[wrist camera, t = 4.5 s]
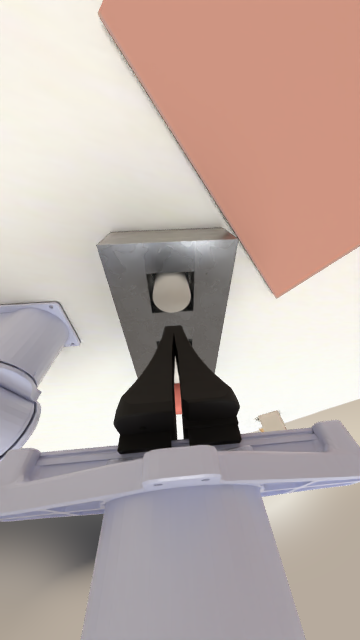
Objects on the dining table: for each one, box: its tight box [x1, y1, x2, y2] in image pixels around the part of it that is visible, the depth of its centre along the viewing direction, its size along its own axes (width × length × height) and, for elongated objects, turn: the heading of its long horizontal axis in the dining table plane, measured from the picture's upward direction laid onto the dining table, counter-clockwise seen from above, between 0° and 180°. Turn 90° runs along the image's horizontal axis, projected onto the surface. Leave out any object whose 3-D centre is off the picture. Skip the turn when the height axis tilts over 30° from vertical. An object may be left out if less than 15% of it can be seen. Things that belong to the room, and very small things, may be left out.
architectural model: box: [258, 411, 286, 432], centre depth 49 cm, size 3×7×7 cm, turn 123°
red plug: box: [174, 383, 182, 414], centre depth 28 cm, size 4×4×5 cm
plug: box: [153, 272, 191, 313], centre depth 19 cm, size 4×4×5 cm
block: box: [97, 228, 238, 378], centre depth 25 cm, size 12×28×5 cm, turn 1°
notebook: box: [98, 0, 360, 299], centre depth 14 cm, size 27×17×2 cm, turn 42°
